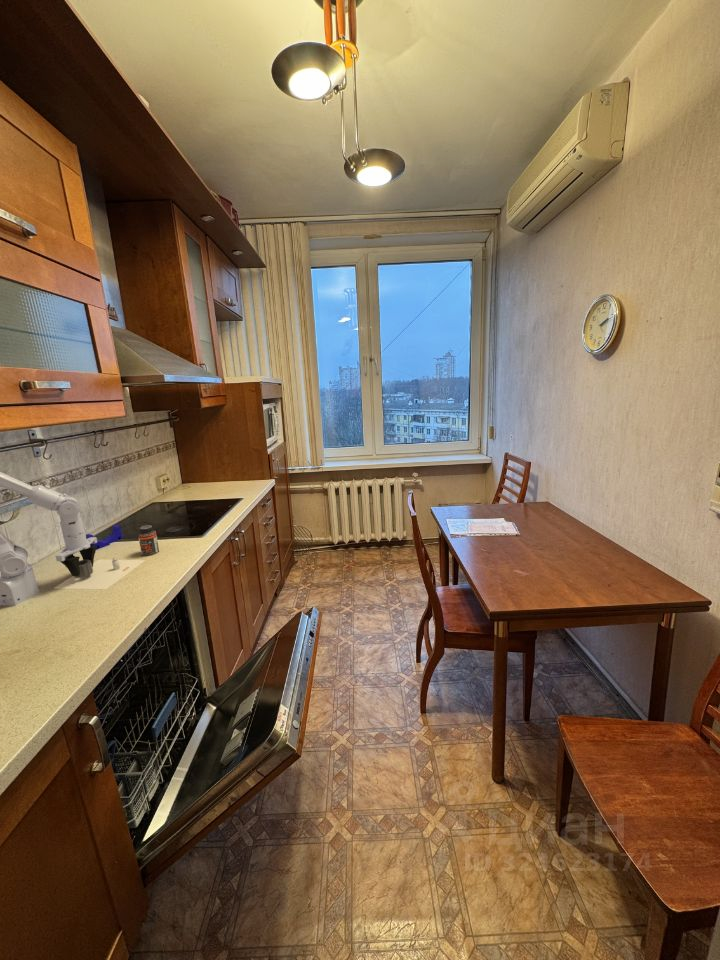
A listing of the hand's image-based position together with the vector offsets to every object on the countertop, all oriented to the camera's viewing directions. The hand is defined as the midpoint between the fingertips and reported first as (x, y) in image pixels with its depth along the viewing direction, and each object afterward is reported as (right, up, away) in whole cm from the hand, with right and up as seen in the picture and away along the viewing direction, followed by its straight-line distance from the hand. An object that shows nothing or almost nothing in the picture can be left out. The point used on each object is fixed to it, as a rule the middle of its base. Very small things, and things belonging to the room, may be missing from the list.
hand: (82, 571), depth 126 cm
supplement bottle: (+13, +2, +18) cm, 22 cm away
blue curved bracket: (-12, +4, +30) cm, 32 cm away
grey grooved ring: (0, -1, 0) cm, 1 cm away
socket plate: (+4, -2, +3) cm, 6 cm away
